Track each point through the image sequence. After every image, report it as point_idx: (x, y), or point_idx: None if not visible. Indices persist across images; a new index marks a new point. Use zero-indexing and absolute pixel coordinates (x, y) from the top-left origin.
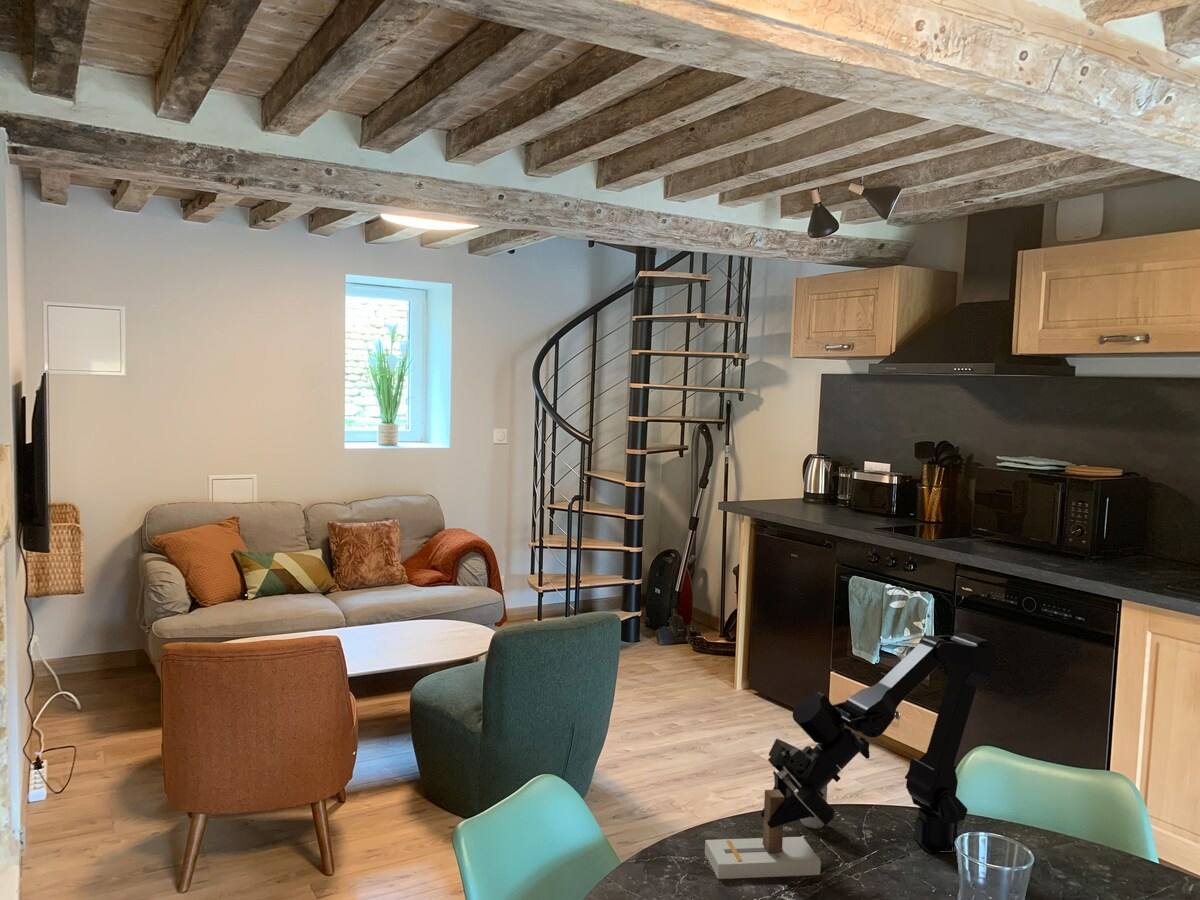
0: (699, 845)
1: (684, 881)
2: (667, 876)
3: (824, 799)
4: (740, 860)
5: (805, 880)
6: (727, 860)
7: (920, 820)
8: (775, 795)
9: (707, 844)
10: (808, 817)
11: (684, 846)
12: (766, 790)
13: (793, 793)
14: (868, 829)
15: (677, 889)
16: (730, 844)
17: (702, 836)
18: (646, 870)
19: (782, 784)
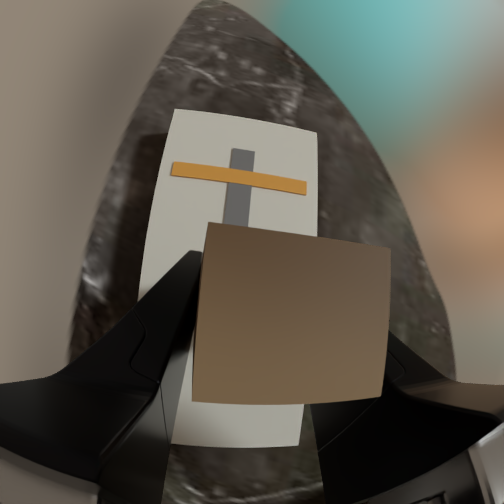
0: (344, 160)
1: (189, 72)
2: (218, 56)
3: None
4: (174, 169)
5: None
6: (189, 137)
7: None
8: (245, 307)
9: (292, 127)
10: None
11: (340, 129)
12: (379, 259)
13: (38, 473)
14: None
15: (165, 57)
16: (280, 182)
17: (383, 187)
18: (249, 39)
19: (420, 447)
